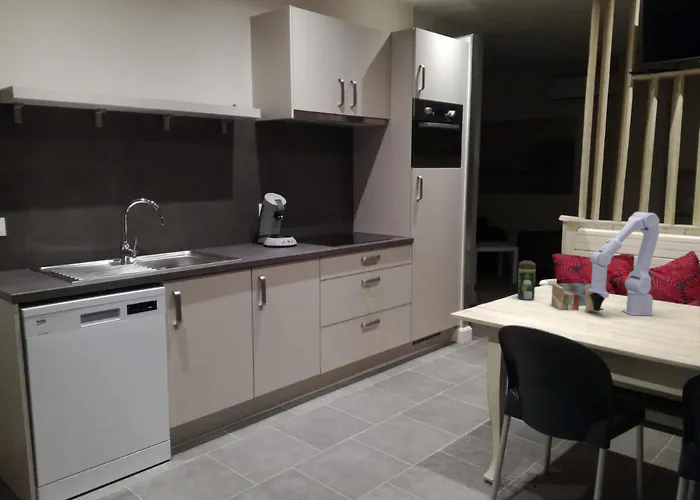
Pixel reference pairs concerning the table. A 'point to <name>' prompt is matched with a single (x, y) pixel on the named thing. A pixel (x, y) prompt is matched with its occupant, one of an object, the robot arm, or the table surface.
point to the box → (588, 299)
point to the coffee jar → (526, 280)
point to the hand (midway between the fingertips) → (596, 310)
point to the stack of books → (568, 296)
